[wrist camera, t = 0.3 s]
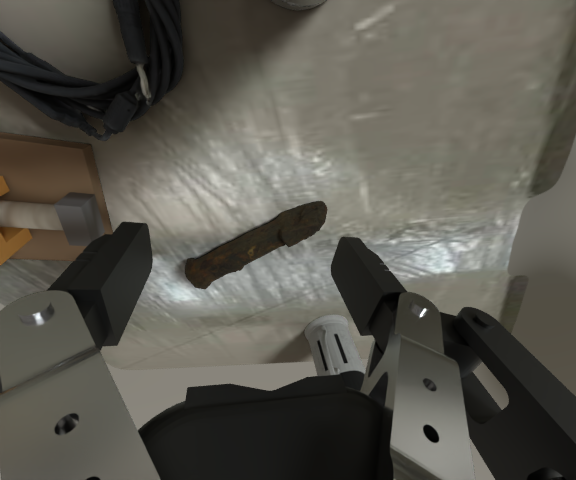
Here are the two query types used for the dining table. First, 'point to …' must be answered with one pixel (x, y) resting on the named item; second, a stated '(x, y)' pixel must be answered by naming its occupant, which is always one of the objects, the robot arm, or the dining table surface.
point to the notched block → (11, 233)
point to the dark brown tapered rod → (257, 243)
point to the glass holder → (335, 350)
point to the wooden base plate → (51, 196)
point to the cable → (112, 94)
